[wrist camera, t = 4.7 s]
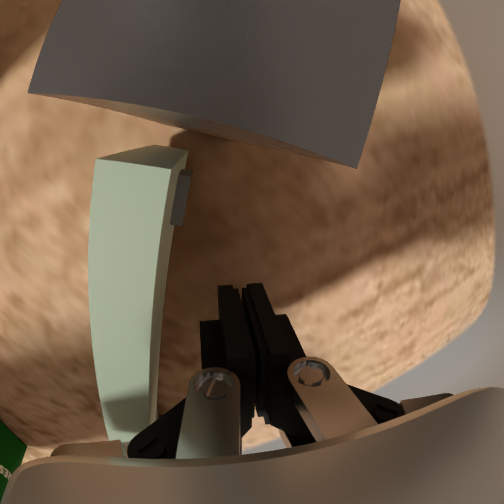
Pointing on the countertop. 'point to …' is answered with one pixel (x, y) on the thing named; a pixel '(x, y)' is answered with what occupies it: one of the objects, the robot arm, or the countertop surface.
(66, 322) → the countertop surface
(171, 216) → the panel
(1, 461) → the milk carton
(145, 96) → the gate posts
